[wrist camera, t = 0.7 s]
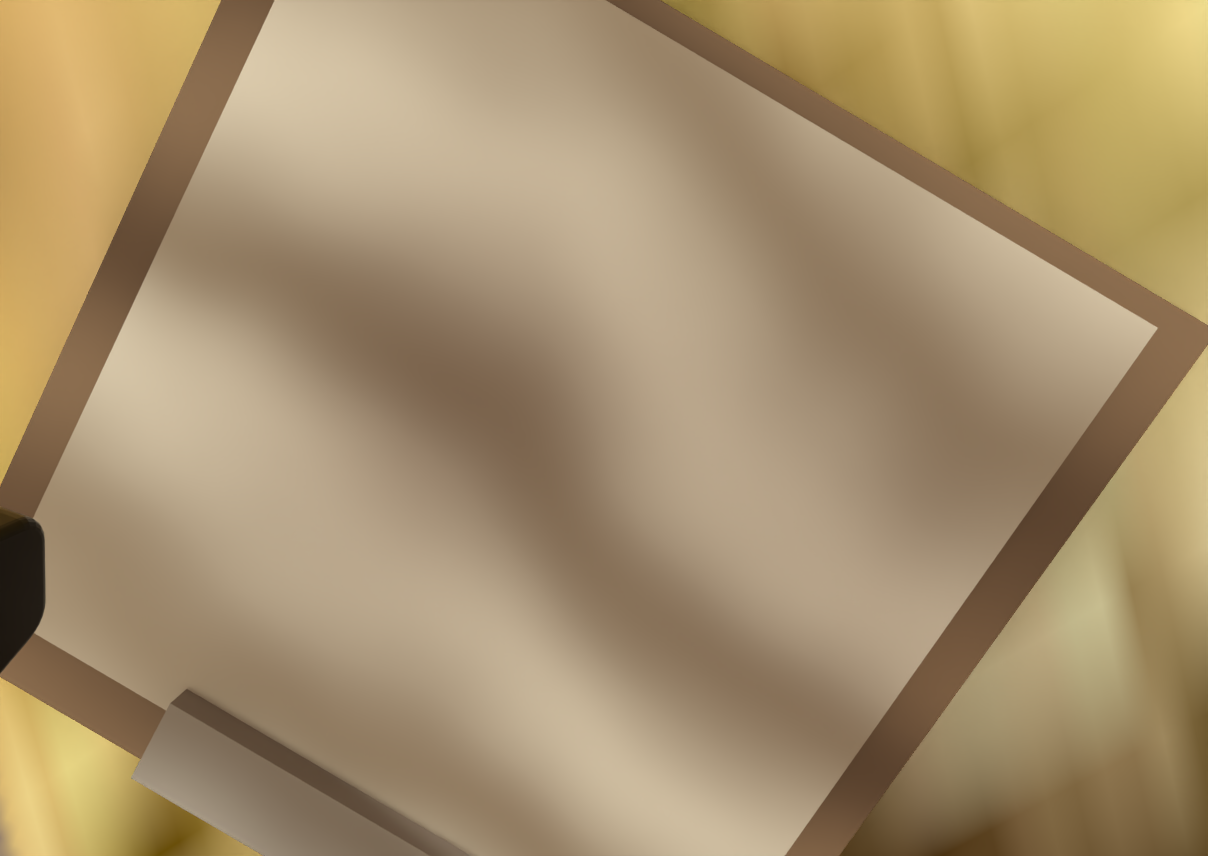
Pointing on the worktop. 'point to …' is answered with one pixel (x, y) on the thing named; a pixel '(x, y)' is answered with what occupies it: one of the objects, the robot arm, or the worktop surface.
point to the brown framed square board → (553, 439)
